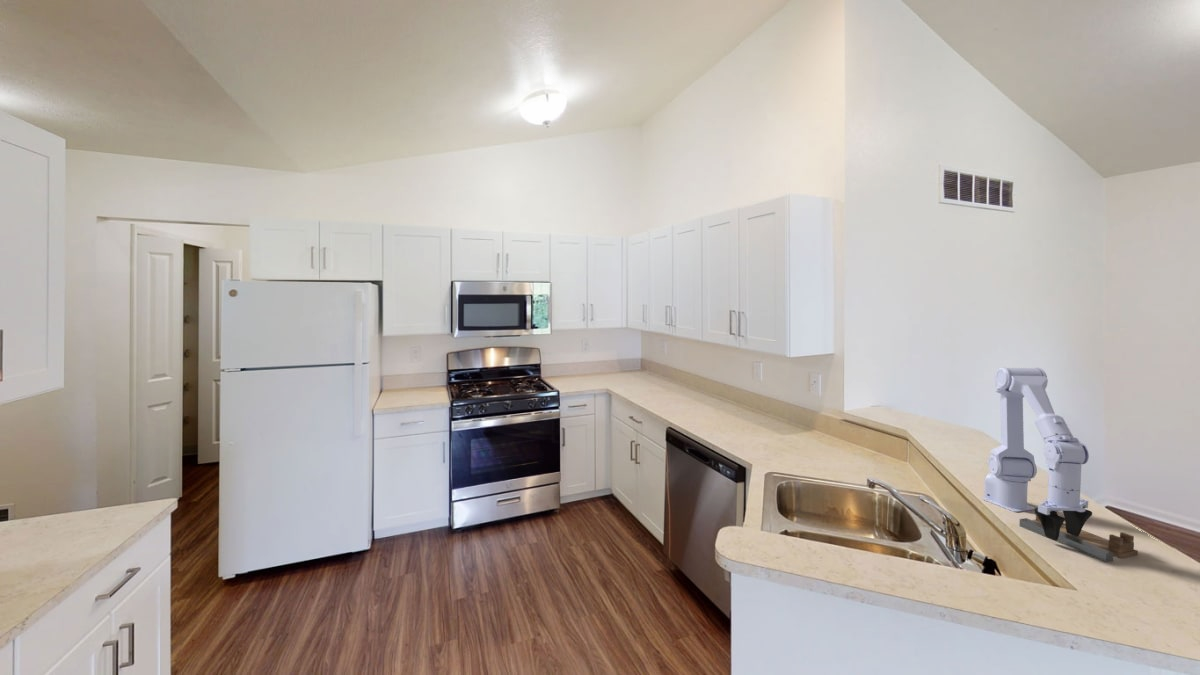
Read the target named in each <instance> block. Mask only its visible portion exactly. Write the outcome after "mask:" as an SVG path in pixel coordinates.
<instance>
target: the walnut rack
mask: <svg viewBox="0 0 1200 675" xmlns="http://www.w3.org/2000/svg"><path fill="white" fill-rule="evenodd" d="M1056 514H1058V512H1056ZM1031 520H1032V521H1035V522H1037V523H1040V524H1041V521H1040V519H1039V518H1038V516H1037V515H1036V514H1035V519H1031ZM1060 532H1062V533H1065V534H1067V535H1070V536H1072V537H1075V538H1078V539H1080V540H1083V541H1085V542H1088V543H1090V544H1093V545H1095V546H1098V547H1100V548H1103V549H1105V550H1108V551H1110V552H1113V557H1116V558H1118V559H1125V558H1130V557H1134V556H1137V555H1138V554H1139V551H1138V550H1137V549H1135V543H1134V535H1131V534H1129V533H1126V532H1120V533H1119V536H1117V535H1114V534H1109V537H1108V539H1107V538H1105V537H1101V536H1100V535H1097V534H1093V533H1092V532H1089V531H1086V530H1083V529H1082V530H1081V532H1080V534H1079V536H1074V535H1071V534H1069V533H1067V531H1066V525H1065V523H1064V522H1063V524H1062V525H1061V528H1060Z"/></svg>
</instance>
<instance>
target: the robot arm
mask: <svg viewBox="0 0 1200 675" xmlns="http://www.w3.org/2000/svg"><path fill="white" fill-rule="evenodd" d="M994 374H995V375H994V388H995V392H996V393H998V394H1000V395H999V396H1000V441H1001V445H1000V444H999V446H997V447H995V448H992V449H990V451H989V458H988V461H987V466H988V469H989V471H990V472H988V473H987V475H985V476H986V477H985V478H984V488H983V489H984V493H983V494H984V496H983V497H982V498H981V499H982V500H983V501H985V502H988V503H990V504H993V505H996V506H998V507H1001V508H1003V509H1006V510H1008V511H1012V512H1014V513H1021V512H1026V511H1031V510H1032V511H1033V510H1034V513H1035V516H1036V515H1037V516H1038V518H1039V519H1040V521H1041V524H1042V526H1043V529H1044V533H1045V536H1046V537H1047V538H1046V537H1045V538H1046V539H1050V540H1051V539H1052V541H1054V542H1056V541H1057V540H1058V537H1059V532H1060V528H1061V525H1062V524H1063V523H1064V522H1065V525H1066V531H1067V533H1069V534H1071V535H1074V536H1079V534H1080V532H1081V530H1083V528H1084V526H1085V523H1086V522H1087V521H1088V520H1089V518H1090V517H1092V516H1093V511H1091V510H1090V509H1088V508H1089V500H1088V499H1084V498H1081V488H1082V487H1081V486H1082V483H1081V481H1082V465H1085V464H1087V463H1088V461H1089V458H1090V453H1089V450H1088V448H1087V446H1086V444H1085V443H1084V442H1082V441H1080V440H1079V439H1078V438H1077V437H1074V435H1073V434H1072V432H1071V430H1070V428H1069V426H1068V424H1067V423H1066V421H1065V419H1064V417H1063V416H1060V415H1057V414H1056V413H1055V411H1054V408H1053V405H1052V403H1051V401H1050V398H1049V395H1048V393H1047V391H1046V390H1047V389H1046V388H1047V386H1048V382H1049V381H1048V380H1049V379H1048V375H1047V373H1046V372H1045V370H1044V369H1042V368H1041V367H1034V368H1033V367H1003V366H1002V367H1000V368H999V369H998V370H997V371H996V372H995V373H994ZM1024 398H1025V399H1026V401H1027V402H1028V404H1029V406H1030V407H1031V409H1032V411H1033V412H1034V413H1035V415H1036V417H1037V418H1036V420H1035V421H1034V424H1035V426H1036V428H1037V430H1038V432H1039V434H1040V436H1041V437H1042V440H1043V442H1044V444H1045V445H1044V446H1043V447H1042V448H1043V450H1042V451H1043V455H1044V457H1045V464H1046V467H1048V483H1047V484H1048V485H1047V498H1046V499H1045V500H1044V501H1042V503H1039V504H1037V505H1038V506H1037V508H1035V506H1032V505H1029V504H1028V490H1029V489H1028V484H1029V483H1028V482H1031V481H1032V480H1031V479H1034V478H1035V477H1036V475H1037V473H1038V468H1037V464H1036V462H1035V456H1034V454H1033V453H1031V452H1030V451H1029V450H1026V449H1025V444H1024V442H1025V441H1024V437H1025V436H1024V433H1025V432H1024ZM1061 511H1062V513H1063V516H1064V517H1063V516H1061V515H1059V514H1058V512H1061ZM1056 512H1057V514H1056Z"/></svg>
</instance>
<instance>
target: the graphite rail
mask: <svg viewBox="0 0 1200 675" xmlns="http://www.w3.org/2000/svg"><path fill="white" fill-rule="evenodd" d="M1032 520H1033V519H1030V518H1026V517H1025V518H1019V523H1018V524H1019V527H1020V528H1022V529H1025V530H1026V531H1027V530H1028V531H1030V532H1033V533H1034V534H1037V535H1039V536H1042V537H1044V538H1046V539H1048V538H1047V537H1046V536H1045V533H1044V529H1043V526H1042V524H1040V523H1037V522H1035V521H1032ZM1050 540H1052V539H1050ZM1052 541H1053V540H1052ZM1055 542H1057V543H1058V544H1061V545H1063V546H1066V547H1069V548H1071V549H1073V550H1075V551H1078V552H1080V553H1082V554H1085V555H1087V556H1090V557H1091V558H1095V559H1097V560H1099V561H1101V562H1104V563H1109V562H1114V556H1113V552H1110V551H1108V550H1105V549H1103V548H1100V547H1098V546H1095V545H1093V544H1090V543H1088V542H1085V541H1083V540H1080V539H1078V538H1075V537H1072V536H1070V535H1067V534H1065V533H1062V532H1059V537H1058V540H1057V541H1055Z"/></svg>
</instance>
